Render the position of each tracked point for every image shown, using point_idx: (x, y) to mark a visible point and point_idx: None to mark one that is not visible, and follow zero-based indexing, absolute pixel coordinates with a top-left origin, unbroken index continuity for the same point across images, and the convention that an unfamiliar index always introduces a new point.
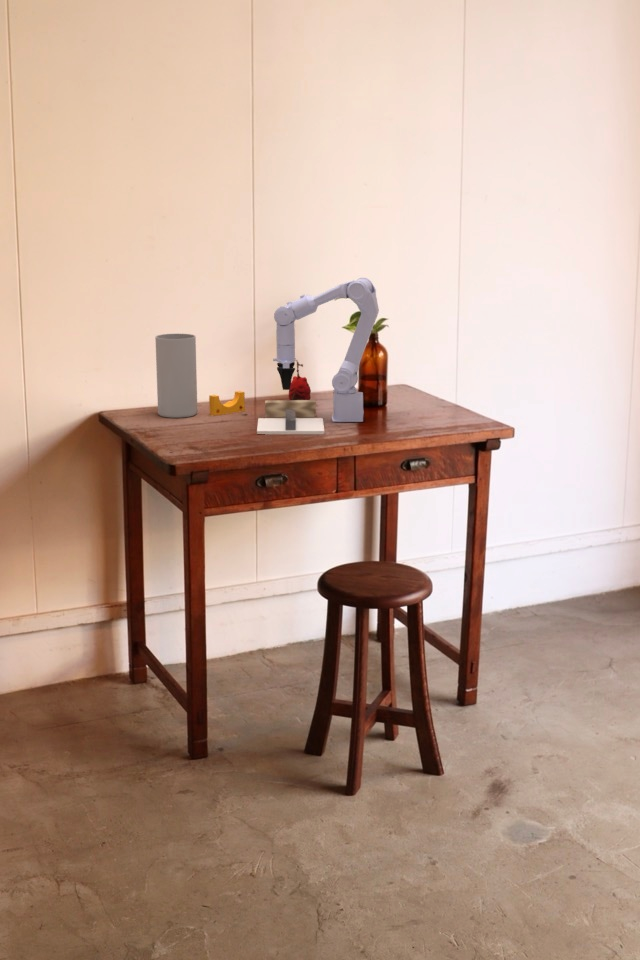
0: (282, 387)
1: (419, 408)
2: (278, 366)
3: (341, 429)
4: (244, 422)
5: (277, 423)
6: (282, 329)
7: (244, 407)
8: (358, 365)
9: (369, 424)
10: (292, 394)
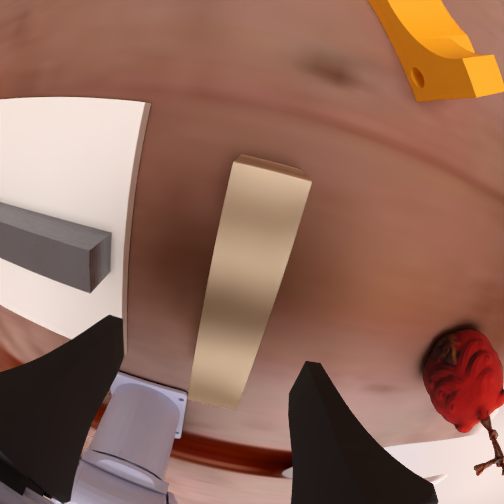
0: (99, 321)
1: (250, 495)
2: (356, 494)
3: (40, 349)
4: (150, 39)
5: (41, 180)
6: None
7: (425, 99)
8: None
9: (99, 415)
10: (461, 352)
